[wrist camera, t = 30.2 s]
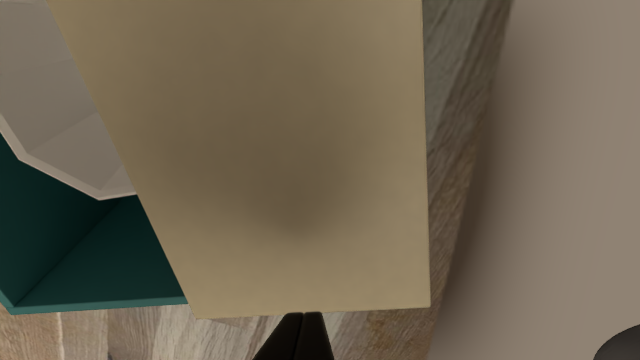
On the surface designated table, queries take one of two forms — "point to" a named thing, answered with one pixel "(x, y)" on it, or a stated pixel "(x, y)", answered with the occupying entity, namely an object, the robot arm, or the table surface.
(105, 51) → the flap
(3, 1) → the cup
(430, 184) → the table surface
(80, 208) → the open box
